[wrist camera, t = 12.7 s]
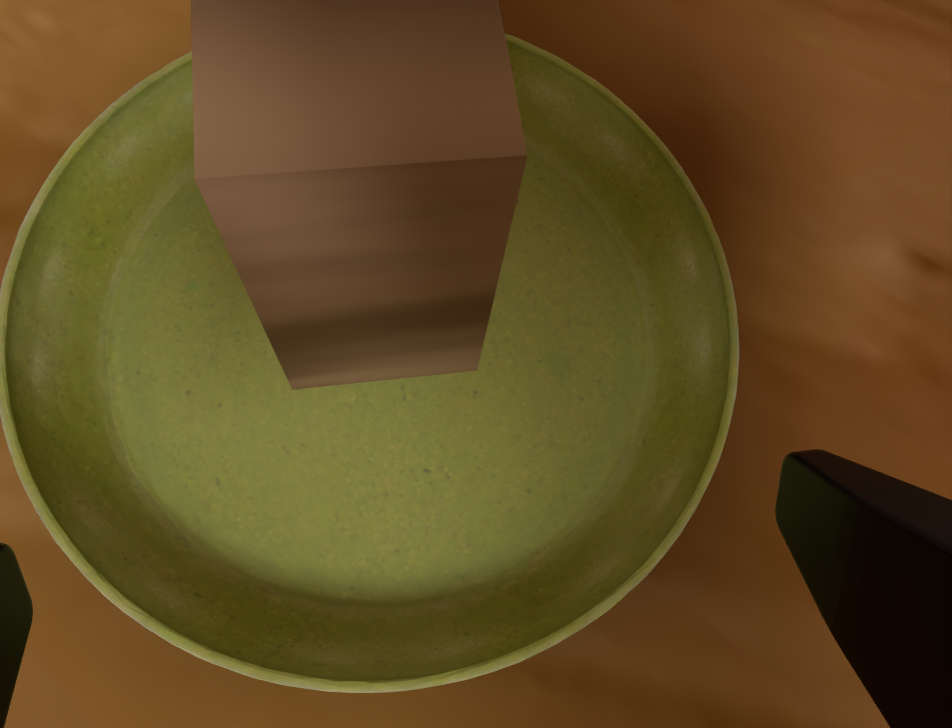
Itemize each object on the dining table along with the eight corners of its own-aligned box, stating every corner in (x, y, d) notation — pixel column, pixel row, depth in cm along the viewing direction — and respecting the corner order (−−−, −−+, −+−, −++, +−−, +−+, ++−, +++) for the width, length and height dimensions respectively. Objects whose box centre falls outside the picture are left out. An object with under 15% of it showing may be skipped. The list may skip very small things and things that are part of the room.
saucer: (19, 734, 20) (-49, 748, 17) (67, 87, 27) (24, 17, 24) (770, 639, 23) (825, 637, 20) (640, 64, 30) (666, -2, 27)
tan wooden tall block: (477, 370, 21) (527, 155, 12) (292, 389, 21) (194, 179, 11) (454, 212, 23) (482, -86, 14) (282, 225, 22) (189, -76, 13)
